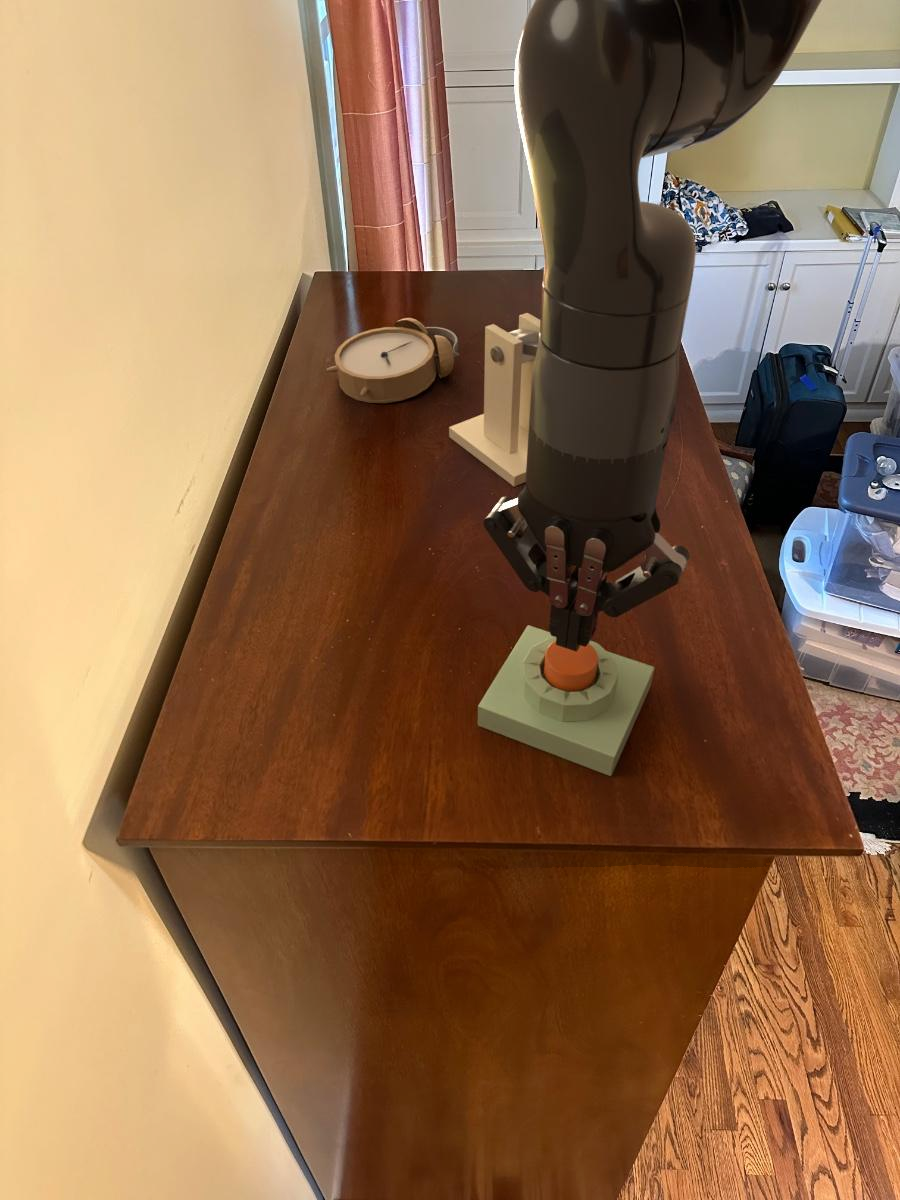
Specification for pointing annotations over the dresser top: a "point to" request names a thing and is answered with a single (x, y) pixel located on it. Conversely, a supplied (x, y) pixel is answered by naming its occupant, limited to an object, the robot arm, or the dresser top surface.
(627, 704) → the button block
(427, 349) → the alarm clock
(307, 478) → the dresser top surface
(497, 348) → the bracket
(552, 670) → the button
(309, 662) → the dresser top surface
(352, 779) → the dresser top surface
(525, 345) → the lever
